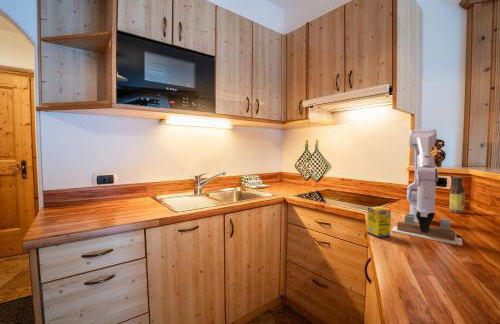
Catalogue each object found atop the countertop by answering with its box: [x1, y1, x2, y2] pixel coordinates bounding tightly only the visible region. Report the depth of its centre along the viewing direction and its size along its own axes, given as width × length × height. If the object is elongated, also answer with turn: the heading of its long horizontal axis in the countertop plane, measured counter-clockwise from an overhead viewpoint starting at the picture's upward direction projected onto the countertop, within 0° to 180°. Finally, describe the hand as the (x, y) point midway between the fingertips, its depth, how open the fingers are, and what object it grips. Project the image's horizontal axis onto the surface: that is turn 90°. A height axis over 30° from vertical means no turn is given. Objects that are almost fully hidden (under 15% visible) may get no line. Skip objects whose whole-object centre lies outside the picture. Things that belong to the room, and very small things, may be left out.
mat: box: [390, 225, 463, 247], centre depth 92 cm, size 7×22×1 cm, turn 49°
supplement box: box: [366, 206, 392, 239], centre depth 92 cm, size 6×6×11 cm
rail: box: [396, 221, 456, 241], centre depth 92 cm, size 3×18×3 cm, turn 49°
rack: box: [404, 213, 458, 238], centre depth 98 cm, size 6×19×6 cm, turn 49°
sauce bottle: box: [448, 176, 466, 215], centre depth 128 cm, size 7×6×20 cm
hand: (424, 231), depth 92 cm, fingers closed on rail, 3 cm apart
